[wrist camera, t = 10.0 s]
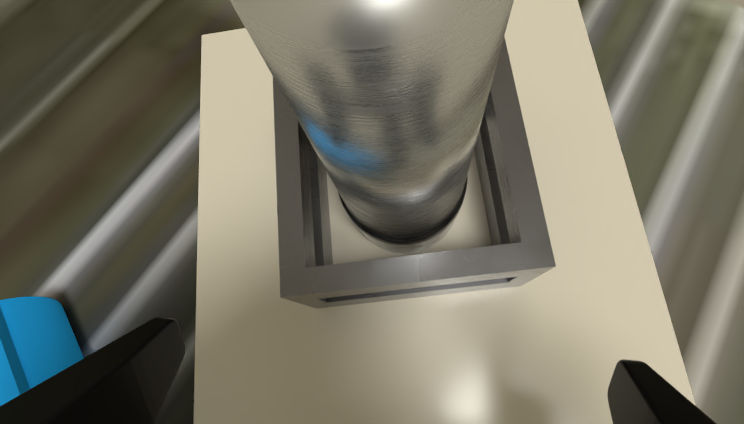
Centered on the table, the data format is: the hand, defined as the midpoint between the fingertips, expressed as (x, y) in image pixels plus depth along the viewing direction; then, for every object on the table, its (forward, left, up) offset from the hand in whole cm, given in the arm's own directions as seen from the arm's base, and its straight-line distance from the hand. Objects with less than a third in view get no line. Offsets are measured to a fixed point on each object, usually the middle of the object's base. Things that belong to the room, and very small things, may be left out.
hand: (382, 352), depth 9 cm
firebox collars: (+6, -1, -9) cm, 10 cm away
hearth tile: (+6, -1, -9) cm, 10 cm away
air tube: (+6, -1, -8) cm, 10 cm away
